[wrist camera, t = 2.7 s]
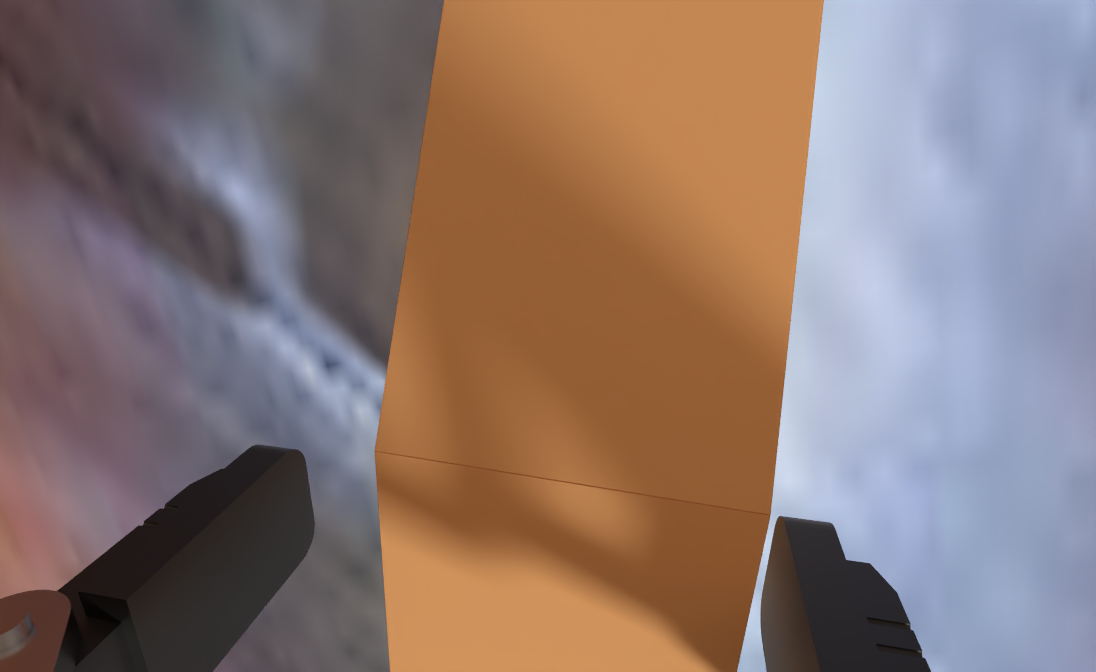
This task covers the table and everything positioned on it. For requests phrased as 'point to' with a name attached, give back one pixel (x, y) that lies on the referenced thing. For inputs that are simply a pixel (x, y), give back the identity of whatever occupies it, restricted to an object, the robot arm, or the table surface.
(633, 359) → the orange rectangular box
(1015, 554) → the table surface
